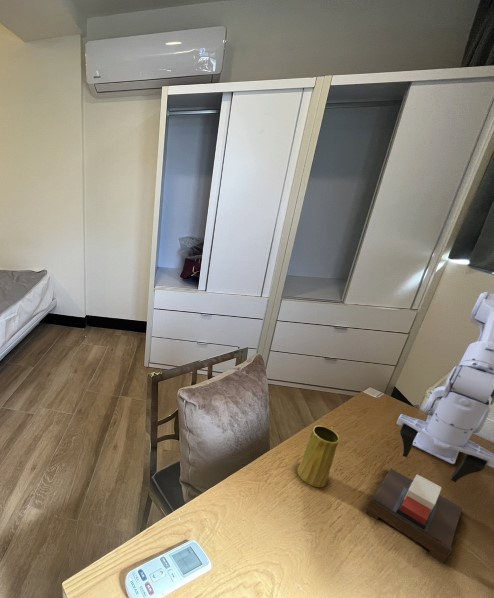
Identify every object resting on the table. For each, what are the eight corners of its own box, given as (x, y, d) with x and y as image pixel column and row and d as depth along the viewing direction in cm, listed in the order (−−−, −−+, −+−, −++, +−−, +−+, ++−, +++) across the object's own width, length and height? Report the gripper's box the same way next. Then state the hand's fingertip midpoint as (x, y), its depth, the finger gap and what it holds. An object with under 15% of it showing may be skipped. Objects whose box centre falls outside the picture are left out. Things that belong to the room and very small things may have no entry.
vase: (299, 482, 75) (313, 440, 70) (295, 462, 81) (308, 421, 75) (329, 491, 73) (346, 447, 68) (322, 469, 78) (338, 427, 73)
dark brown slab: (388, 473, 77) (393, 462, 75) (458, 513, 68) (466, 501, 66) (365, 512, 69) (371, 500, 67) (442, 563, 59) (451, 551, 58)
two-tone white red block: (408, 486, 72) (415, 473, 70) (435, 501, 68) (443, 488, 67) (395, 512, 66) (402, 498, 65) (423, 530, 63) (432, 516, 61)
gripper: (401, 408, 67) (381, 453, 72) (508, 453, 56) (475, 502, 61) (410, 394, 70) (390, 438, 76) (512, 434, 59) (480, 482, 65)
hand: (428, 465), depth 69 cm, fingers open, 7 cm apart
